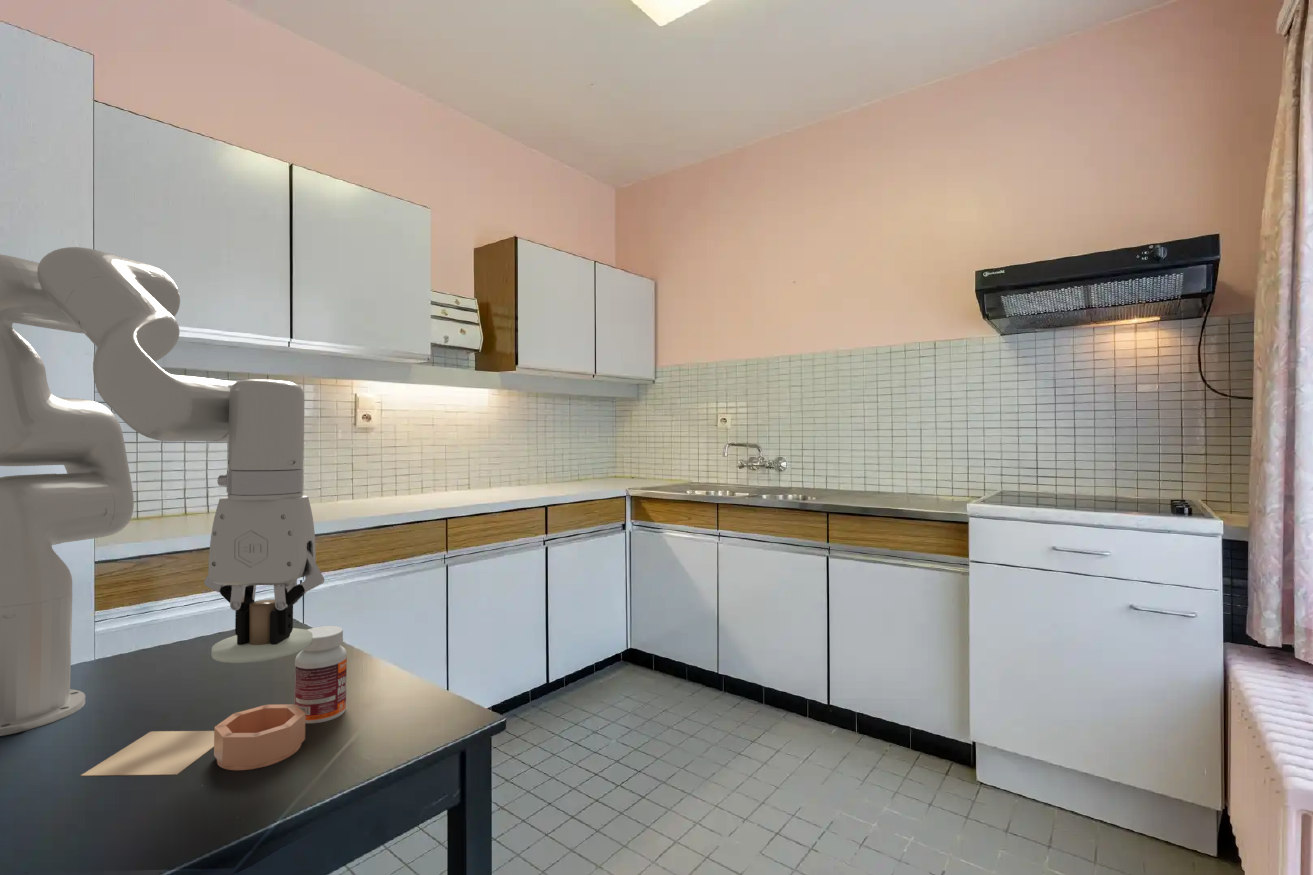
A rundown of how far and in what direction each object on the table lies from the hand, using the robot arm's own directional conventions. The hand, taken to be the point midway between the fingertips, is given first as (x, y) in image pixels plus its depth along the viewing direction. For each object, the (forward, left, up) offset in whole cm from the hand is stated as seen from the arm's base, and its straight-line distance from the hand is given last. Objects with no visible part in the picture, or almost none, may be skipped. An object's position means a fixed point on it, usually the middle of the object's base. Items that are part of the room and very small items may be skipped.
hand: (264, 639), depth 73 cm
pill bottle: (+2, +10, -14) cm, 17 cm away
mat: (-11, 0, -14) cm, 18 cm away
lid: (0, 0, -1) cm, 1 cm away
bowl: (0, 0, -14) cm, 14 cm away
